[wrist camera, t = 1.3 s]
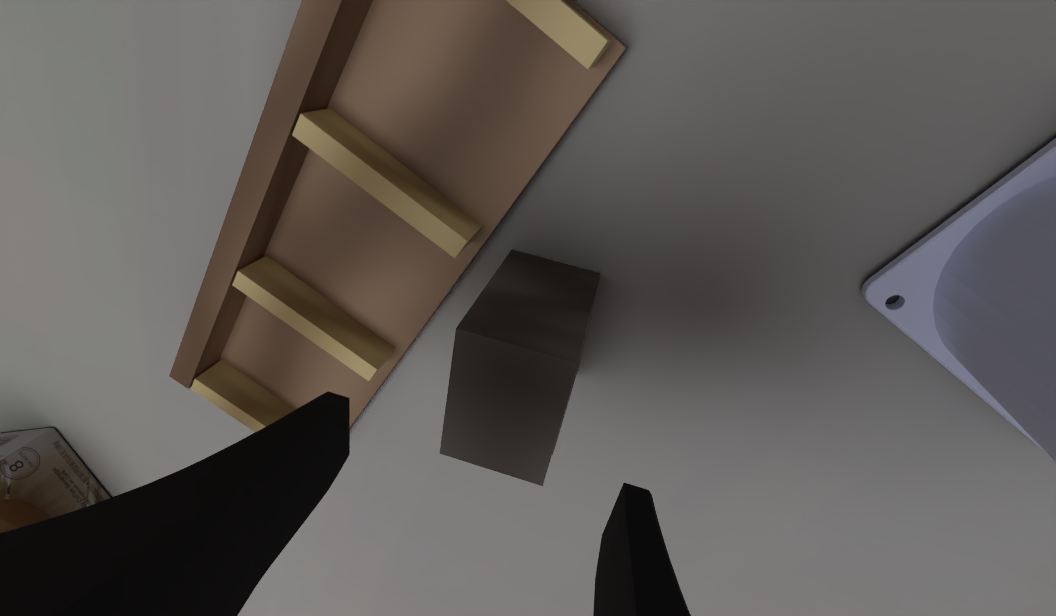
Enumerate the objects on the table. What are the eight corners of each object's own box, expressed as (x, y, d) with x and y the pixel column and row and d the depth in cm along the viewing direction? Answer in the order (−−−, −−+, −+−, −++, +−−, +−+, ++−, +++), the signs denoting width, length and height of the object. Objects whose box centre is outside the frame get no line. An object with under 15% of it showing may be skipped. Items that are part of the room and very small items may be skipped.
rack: (627, 48, 14) (622, 47, 12) (342, 438, 25) (314, 473, 23) (405, -144, 14) (359, -179, 12) (208, 347, 24) (167, 375, 22)
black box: (601, 273, 18) (580, 364, 13) (571, 375, 20) (544, 486, 15) (510, 249, 18) (454, 328, 13) (492, 352, 21) (438, 452, 16)
